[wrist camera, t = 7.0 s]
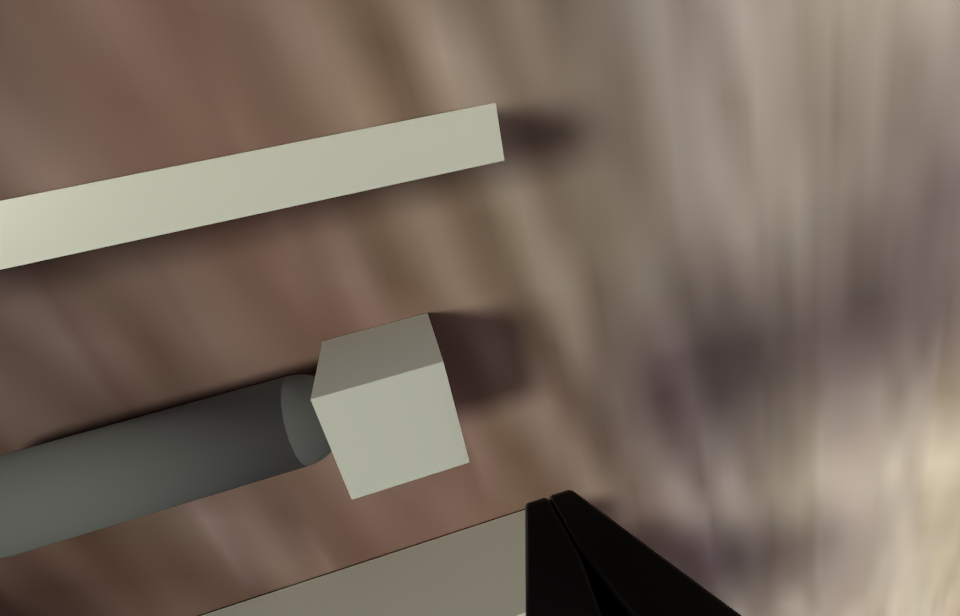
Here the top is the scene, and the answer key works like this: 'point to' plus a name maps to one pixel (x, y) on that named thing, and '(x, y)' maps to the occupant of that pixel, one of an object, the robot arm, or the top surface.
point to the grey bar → (246, 440)
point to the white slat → (276, 185)
